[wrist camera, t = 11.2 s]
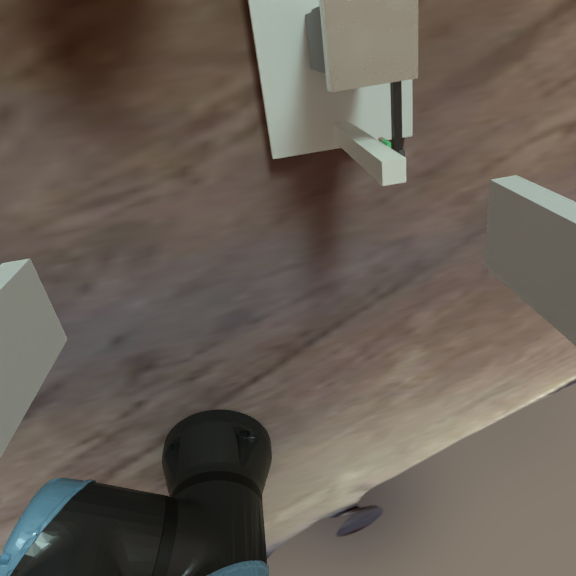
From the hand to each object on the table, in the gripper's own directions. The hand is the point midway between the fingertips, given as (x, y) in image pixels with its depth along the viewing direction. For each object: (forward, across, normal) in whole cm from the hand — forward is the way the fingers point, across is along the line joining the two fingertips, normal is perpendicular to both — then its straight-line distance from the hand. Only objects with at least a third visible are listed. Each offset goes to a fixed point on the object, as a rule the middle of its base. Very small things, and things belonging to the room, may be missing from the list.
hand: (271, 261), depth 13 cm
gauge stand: (+35, +9, +5) cm, 36 cm away
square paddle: (+30, +9, +2) cm, 31 cm away
